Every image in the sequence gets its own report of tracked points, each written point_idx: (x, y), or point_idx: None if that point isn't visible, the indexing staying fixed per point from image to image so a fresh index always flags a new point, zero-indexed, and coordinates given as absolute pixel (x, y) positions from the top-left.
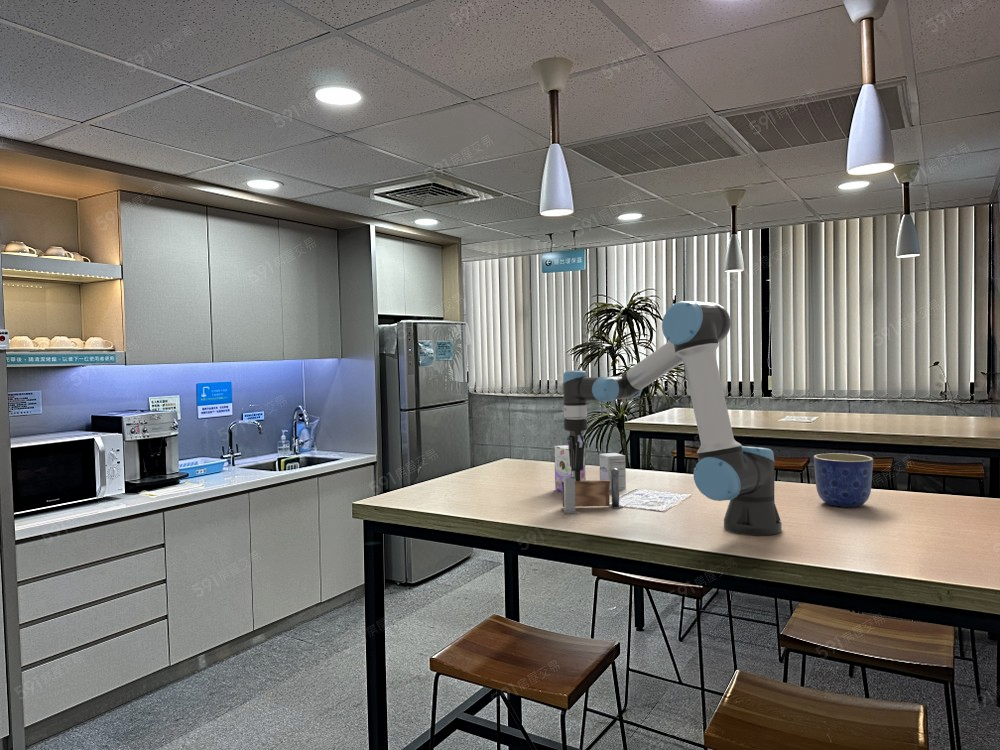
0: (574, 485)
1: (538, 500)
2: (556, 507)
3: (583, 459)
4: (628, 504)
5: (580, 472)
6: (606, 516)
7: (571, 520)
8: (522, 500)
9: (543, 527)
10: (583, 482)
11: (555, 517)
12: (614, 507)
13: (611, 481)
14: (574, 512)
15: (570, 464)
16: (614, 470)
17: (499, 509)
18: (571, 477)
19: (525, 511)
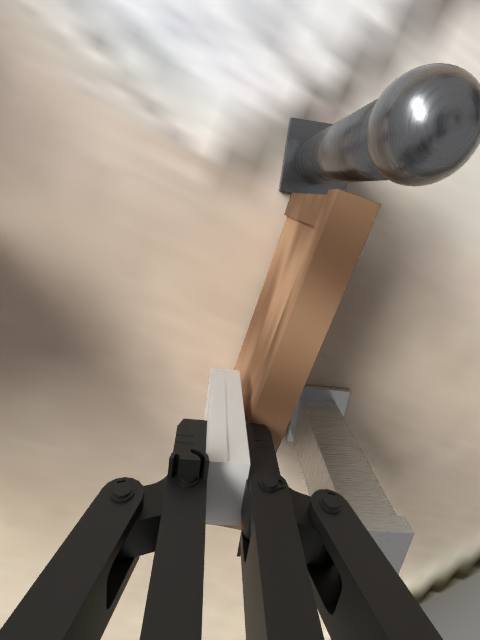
0: (384, 496)
1: (29, 463)
2: None
3: (420, 607)
4: (280, 33)
5: (247, 454)
6: (466, 299)
7: (444, 451)
8: (15, 519)
9: (474, 552)
10: (294, 405)
11: None
12: (345, 183)
13: (367, 179)
14: (345, 406)
15: (128, 560)
16: (472, 150)
17: None
18: None
19: (228, 550)
